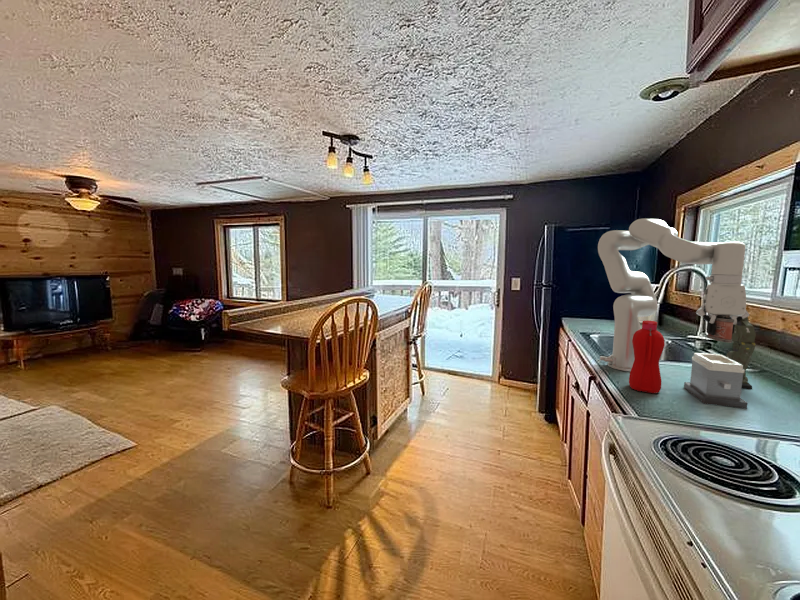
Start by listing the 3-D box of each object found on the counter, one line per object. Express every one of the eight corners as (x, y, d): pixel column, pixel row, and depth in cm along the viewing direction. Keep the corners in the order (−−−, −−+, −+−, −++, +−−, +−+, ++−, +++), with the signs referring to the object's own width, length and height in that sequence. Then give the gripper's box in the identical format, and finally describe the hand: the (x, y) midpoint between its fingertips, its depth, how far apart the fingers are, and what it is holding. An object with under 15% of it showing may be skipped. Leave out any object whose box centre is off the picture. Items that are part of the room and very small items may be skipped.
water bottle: (630, 392, 125) (636, 322, 123) (627, 383, 135) (632, 318, 132) (662, 397, 121) (669, 325, 118) (657, 387, 131) (663, 320, 128)
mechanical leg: (764, 390, 125) (758, 305, 129) (740, 389, 127) (735, 305, 130) (736, 386, 139) (731, 309, 142) (714, 385, 140) (710, 309, 144)
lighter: (735, 342, 115) (738, 312, 114) (724, 342, 115) (727, 312, 114) (714, 337, 123) (717, 308, 122) (704, 337, 123) (707, 308, 122)
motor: (704, 403, 116) (708, 363, 114) (683, 387, 131) (687, 351, 129) (747, 408, 112) (752, 367, 111) (721, 391, 127) (725, 354, 126)
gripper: (699, 280, 116) (694, 335, 118) (765, 281, 111) (758, 339, 113) (690, 279, 123) (684, 331, 125) (751, 280, 118) (744, 334, 120)
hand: (719, 334), depth 119 cm, fingers closed on lighter, 3 cm apart
